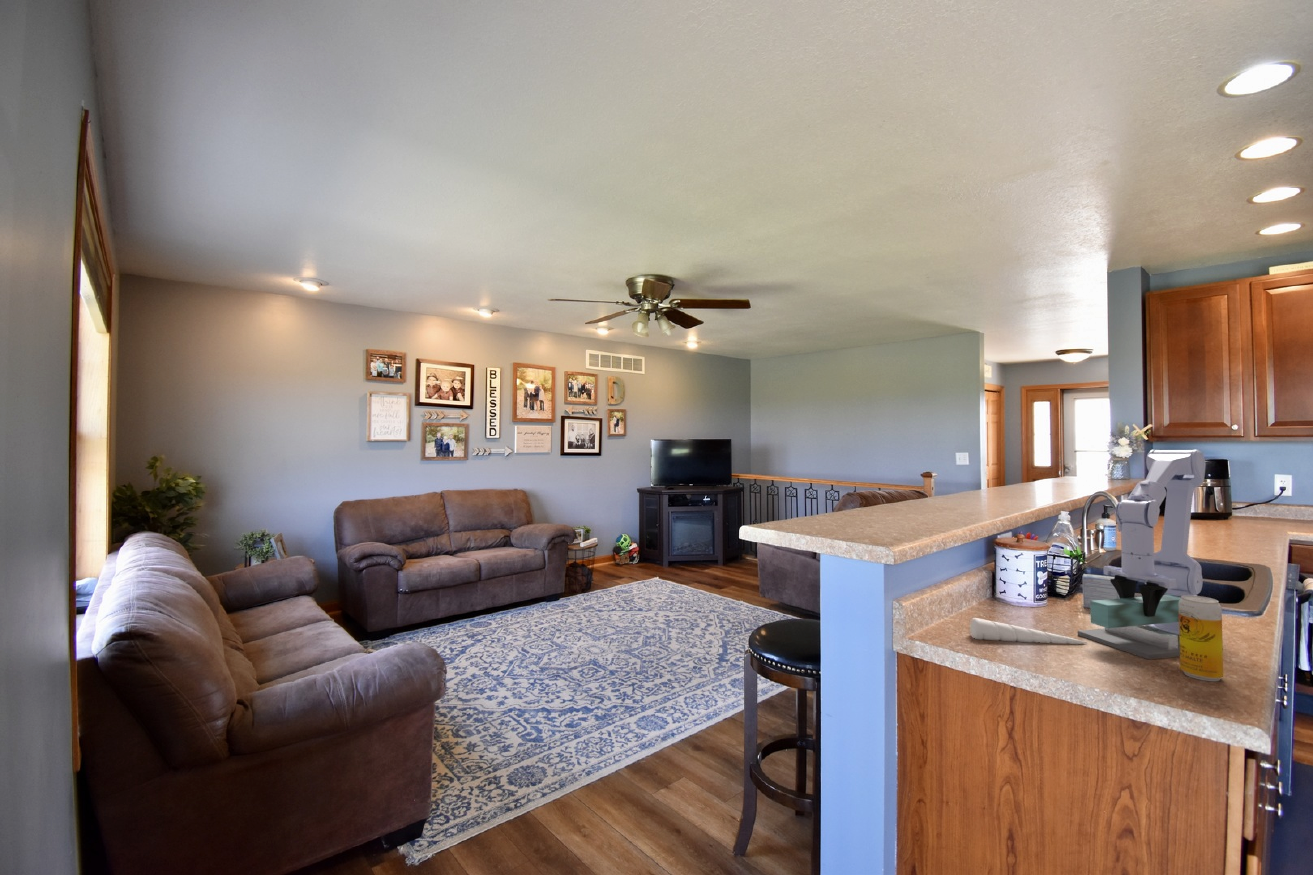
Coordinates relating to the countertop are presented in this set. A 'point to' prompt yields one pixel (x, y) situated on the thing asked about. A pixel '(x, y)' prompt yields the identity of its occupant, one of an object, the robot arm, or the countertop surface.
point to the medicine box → (1097, 589)
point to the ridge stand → (1137, 641)
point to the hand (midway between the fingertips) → (1139, 613)
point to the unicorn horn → (1014, 633)
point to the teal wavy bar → (1132, 612)
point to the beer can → (1201, 637)
